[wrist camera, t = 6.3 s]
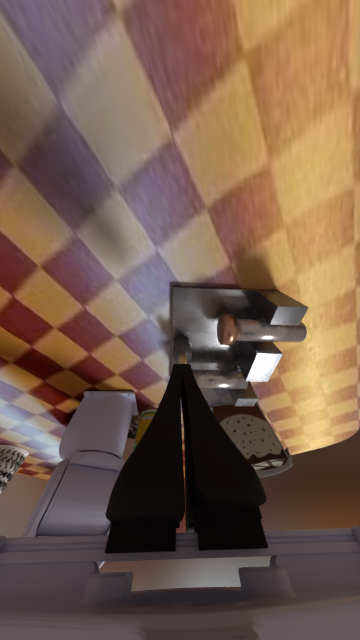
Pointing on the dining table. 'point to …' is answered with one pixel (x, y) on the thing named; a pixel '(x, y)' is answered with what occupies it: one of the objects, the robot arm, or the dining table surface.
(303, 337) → the copper-capped metal rod
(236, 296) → the mount
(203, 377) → the silver long cylinder
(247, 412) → the food container
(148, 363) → the dining table surface
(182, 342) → the potentiometer
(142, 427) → the supplement bottle
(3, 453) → the decorative candle
